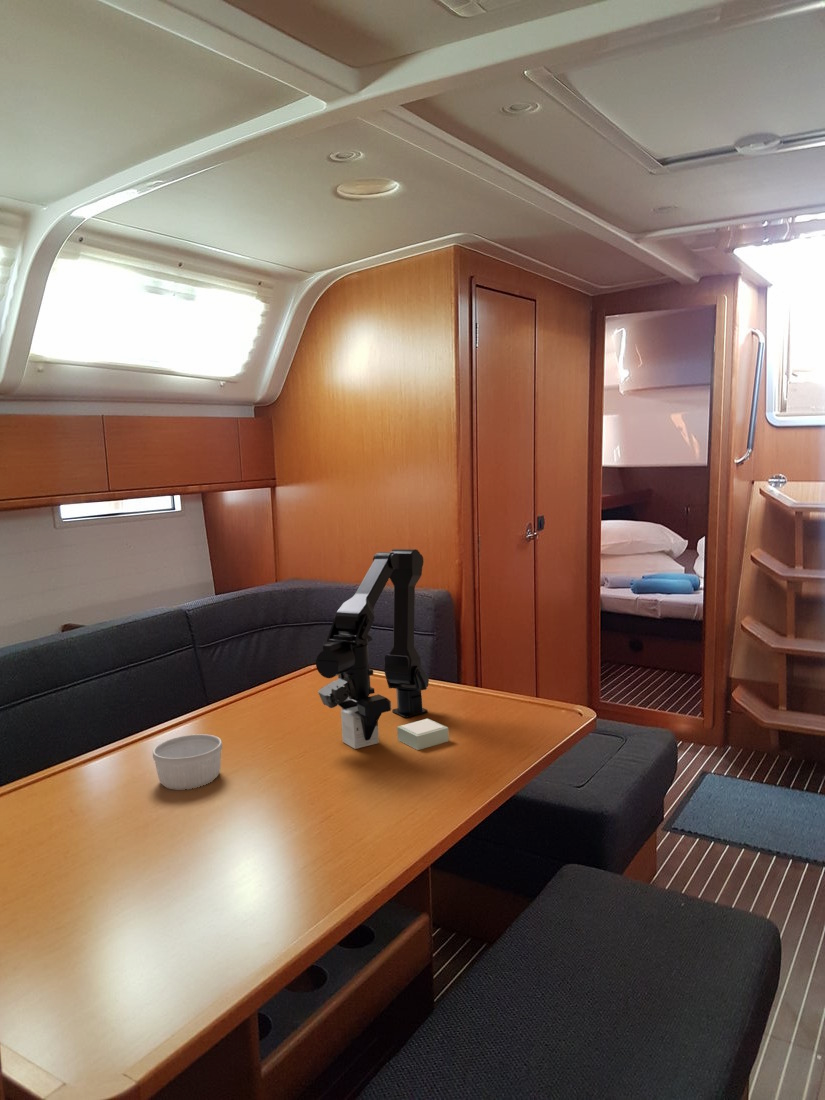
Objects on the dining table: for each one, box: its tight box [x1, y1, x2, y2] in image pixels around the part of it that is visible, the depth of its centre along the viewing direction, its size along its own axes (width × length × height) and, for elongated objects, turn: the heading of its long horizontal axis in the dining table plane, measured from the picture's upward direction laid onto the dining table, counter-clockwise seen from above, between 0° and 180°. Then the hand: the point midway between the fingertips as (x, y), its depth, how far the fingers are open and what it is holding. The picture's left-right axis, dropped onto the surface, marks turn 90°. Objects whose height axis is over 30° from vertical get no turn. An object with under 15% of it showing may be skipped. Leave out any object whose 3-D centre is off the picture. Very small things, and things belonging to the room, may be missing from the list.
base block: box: [396, 718, 450, 751], centre depth 165 cm, size 8×8×3 cm
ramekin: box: [152, 733, 223, 791], centre depth 151 cm, size 13×13×7 cm
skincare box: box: [340, 706, 380, 750], centre depth 166 cm, size 6×6×7 cm
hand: (360, 735), depth 166 cm, fingers closed on skincare box, 6 cm apart
